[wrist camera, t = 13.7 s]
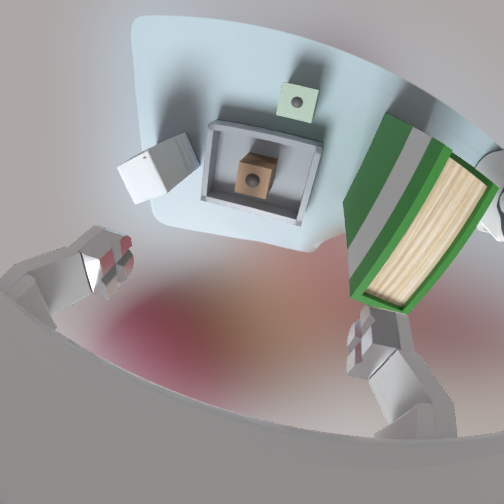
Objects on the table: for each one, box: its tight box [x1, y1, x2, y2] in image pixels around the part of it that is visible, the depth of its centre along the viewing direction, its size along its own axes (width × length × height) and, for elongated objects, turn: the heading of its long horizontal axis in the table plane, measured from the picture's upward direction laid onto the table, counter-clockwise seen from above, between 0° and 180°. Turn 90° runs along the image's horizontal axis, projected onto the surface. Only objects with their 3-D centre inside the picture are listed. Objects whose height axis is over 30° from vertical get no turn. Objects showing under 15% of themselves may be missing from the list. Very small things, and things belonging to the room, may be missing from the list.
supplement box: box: [117, 132, 200, 204], centre depth 44 cm, size 7×7×13 cm
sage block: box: [276, 82, 319, 123], centre depth 36 cm, size 5×5×6 cm
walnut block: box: [235, 152, 278, 199], centre depth 43 cm, size 5×5×6 cm
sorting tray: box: [201, 120, 323, 226], centre depth 45 cm, size 18×14×4 cm
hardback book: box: [343, 113, 499, 315], centre depth 31 cm, size 18×7×24 cm, turn 163°
